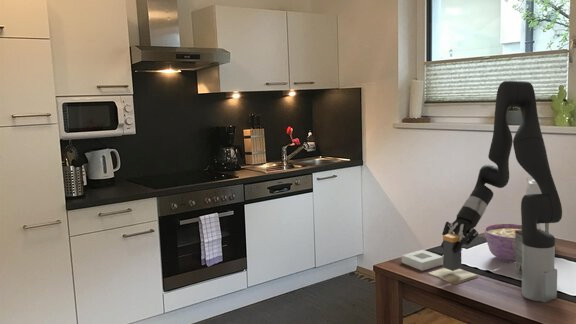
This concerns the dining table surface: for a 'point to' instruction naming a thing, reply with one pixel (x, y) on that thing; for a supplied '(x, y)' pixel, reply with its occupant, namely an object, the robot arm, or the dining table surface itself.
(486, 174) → the robot arm
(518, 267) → the coffee box
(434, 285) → the dining table surface
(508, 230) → the bowl of food
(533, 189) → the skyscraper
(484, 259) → the dining table surface
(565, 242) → the dining table surface
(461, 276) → the mat
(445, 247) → the grey square pillar
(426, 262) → the white square block
